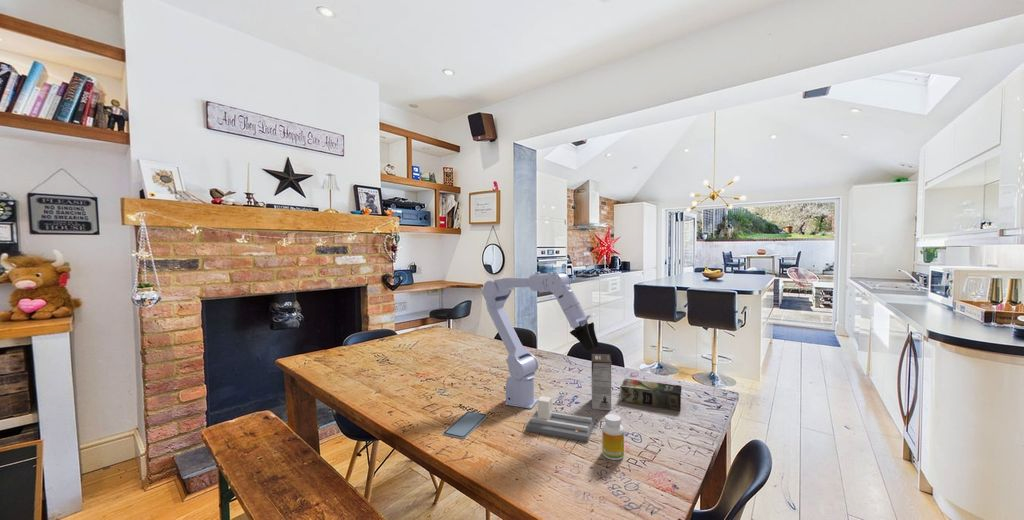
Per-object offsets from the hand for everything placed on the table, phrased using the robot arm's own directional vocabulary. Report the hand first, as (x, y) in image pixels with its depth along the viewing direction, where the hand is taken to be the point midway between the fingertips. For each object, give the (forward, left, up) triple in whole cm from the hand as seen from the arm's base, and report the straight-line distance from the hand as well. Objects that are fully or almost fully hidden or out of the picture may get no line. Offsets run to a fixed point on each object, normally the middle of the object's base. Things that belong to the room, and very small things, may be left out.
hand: (593, 348), depth 109 cm
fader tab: (-14, -5, -21) cm, 26 cm away
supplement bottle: (+7, -15, -23) cm, 28 cm away
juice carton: (+15, +24, -23) cm, 37 cm away
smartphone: (-36, -14, -24) cm, 45 cm away
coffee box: (0, +15, -23) cm, 28 cm away
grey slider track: (-9, -5, -23) cm, 25 cm away
